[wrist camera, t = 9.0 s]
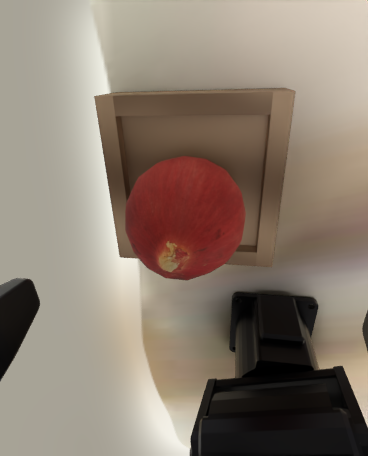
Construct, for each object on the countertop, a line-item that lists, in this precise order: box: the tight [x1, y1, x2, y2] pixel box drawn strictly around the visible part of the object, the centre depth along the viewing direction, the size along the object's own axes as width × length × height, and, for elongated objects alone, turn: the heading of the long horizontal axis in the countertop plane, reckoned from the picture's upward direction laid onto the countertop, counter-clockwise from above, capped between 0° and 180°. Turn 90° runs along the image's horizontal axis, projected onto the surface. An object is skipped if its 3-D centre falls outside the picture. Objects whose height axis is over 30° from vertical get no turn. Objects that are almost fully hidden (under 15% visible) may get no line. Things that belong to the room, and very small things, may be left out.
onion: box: [125, 156, 246, 280], centre depth 14 cm, size 6×6×8 cm
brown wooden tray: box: [95, 88, 295, 267], centre depth 18 cm, size 10×10×3 cm
